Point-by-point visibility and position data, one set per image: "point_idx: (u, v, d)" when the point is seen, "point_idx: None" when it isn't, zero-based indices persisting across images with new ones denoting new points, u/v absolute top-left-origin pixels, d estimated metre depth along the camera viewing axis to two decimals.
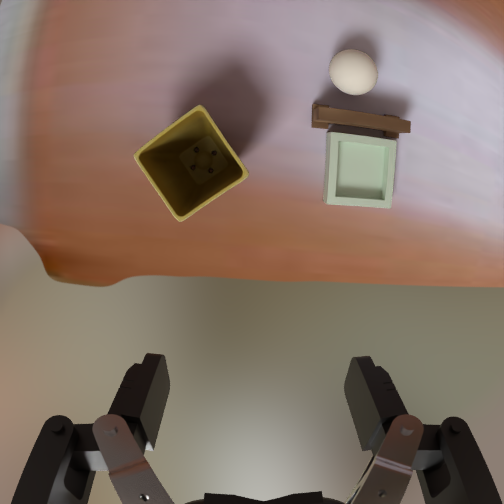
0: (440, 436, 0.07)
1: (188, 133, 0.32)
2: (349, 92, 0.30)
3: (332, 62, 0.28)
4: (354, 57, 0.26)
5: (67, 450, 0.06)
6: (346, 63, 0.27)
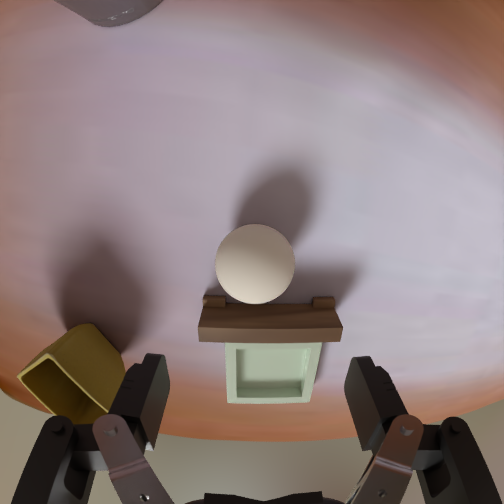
0: (440, 436, 0.07)
1: None
2: None
3: (216, 258, 0.22)
4: (243, 263, 0.20)
5: (67, 450, 0.06)
6: (230, 275, 0.20)
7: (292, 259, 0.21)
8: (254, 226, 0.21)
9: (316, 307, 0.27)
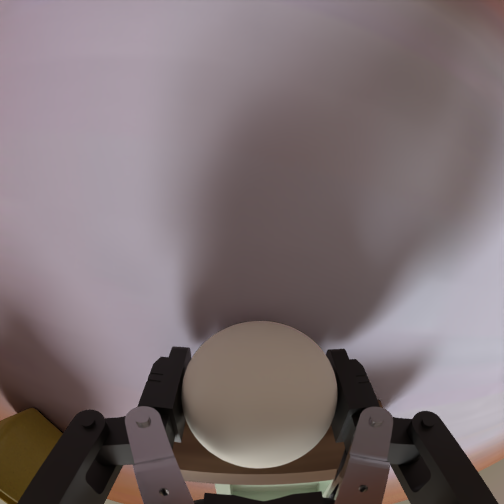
0: (412, 432, 0.07)
1: None
2: None
3: (182, 394, 0.10)
4: (236, 432, 0.08)
5: (94, 446, 0.07)
6: (209, 441, 0.08)
7: (335, 398, 0.09)
8: (259, 339, 0.09)
9: None
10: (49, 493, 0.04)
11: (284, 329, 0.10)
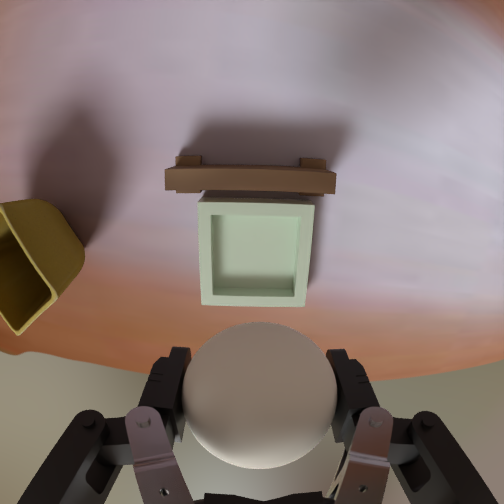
0: (412, 432, 0.07)
1: None
2: None
3: (182, 394, 0.10)
4: (236, 433, 0.08)
5: (94, 446, 0.07)
6: (209, 442, 0.08)
7: (335, 399, 0.09)
8: (259, 340, 0.09)
9: (304, 166, 0.23)
10: (49, 493, 0.04)
11: (284, 330, 0.10)
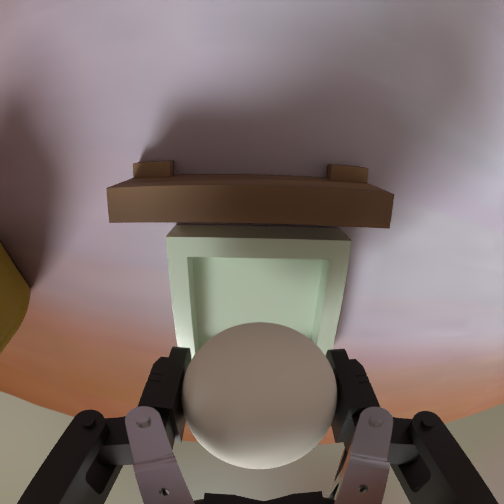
0: (412, 432, 0.07)
1: None
2: None
3: (182, 395, 0.10)
4: (236, 433, 0.08)
5: (94, 446, 0.07)
6: (209, 442, 0.08)
7: (335, 399, 0.09)
8: (259, 340, 0.09)
9: (336, 177, 0.14)
10: (49, 493, 0.04)
11: (284, 330, 0.10)
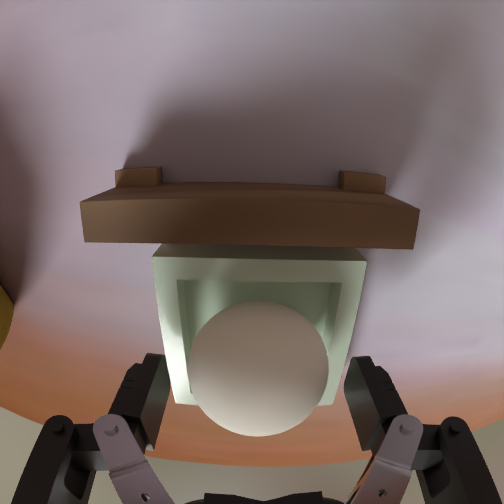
0: (440, 436, 0.07)
1: None
2: None
3: (188, 366, 0.11)
4: (237, 396, 0.09)
5: (67, 450, 0.06)
6: (213, 407, 0.10)
7: (326, 370, 0.11)
8: (258, 313, 0.11)
9: (349, 187, 0.12)
10: (33, 503, 0.04)
11: (280, 306, 0.12)
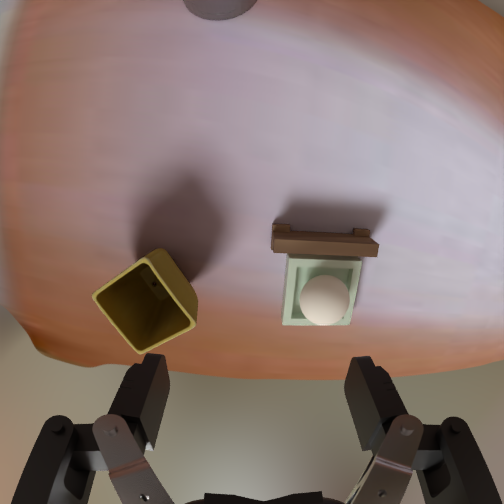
0: (440, 436, 0.07)
1: None
2: None
3: (302, 297, 0.33)
4: (324, 302, 0.31)
5: (67, 450, 0.06)
6: (314, 308, 0.32)
7: (349, 298, 0.33)
8: (327, 277, 0.33)
9: (356, 235, 0.35)
10: (33, 503, 0.04)
11: (333, 276, 0.34)
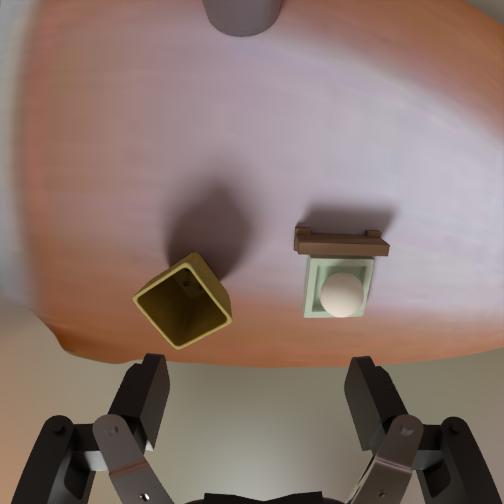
0: (440, 436, 0.07)
1: None
2: None
3: (323, 293, 0.37)
4: (342, 297, 0.35)
5: (67, 450, 0.06)
6: (334, 303, 0.36)
7: (363, 292, 0.37)
8: (345, 275, 0.37)
9: (369, 236, 0.38)
10: (33, 503, 0.04)
11: None
